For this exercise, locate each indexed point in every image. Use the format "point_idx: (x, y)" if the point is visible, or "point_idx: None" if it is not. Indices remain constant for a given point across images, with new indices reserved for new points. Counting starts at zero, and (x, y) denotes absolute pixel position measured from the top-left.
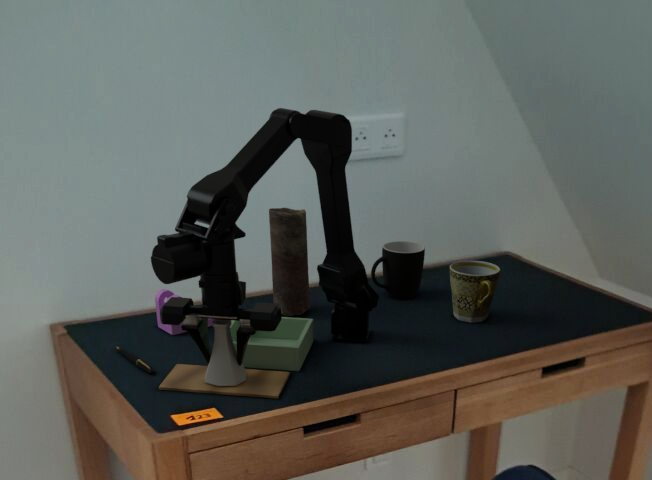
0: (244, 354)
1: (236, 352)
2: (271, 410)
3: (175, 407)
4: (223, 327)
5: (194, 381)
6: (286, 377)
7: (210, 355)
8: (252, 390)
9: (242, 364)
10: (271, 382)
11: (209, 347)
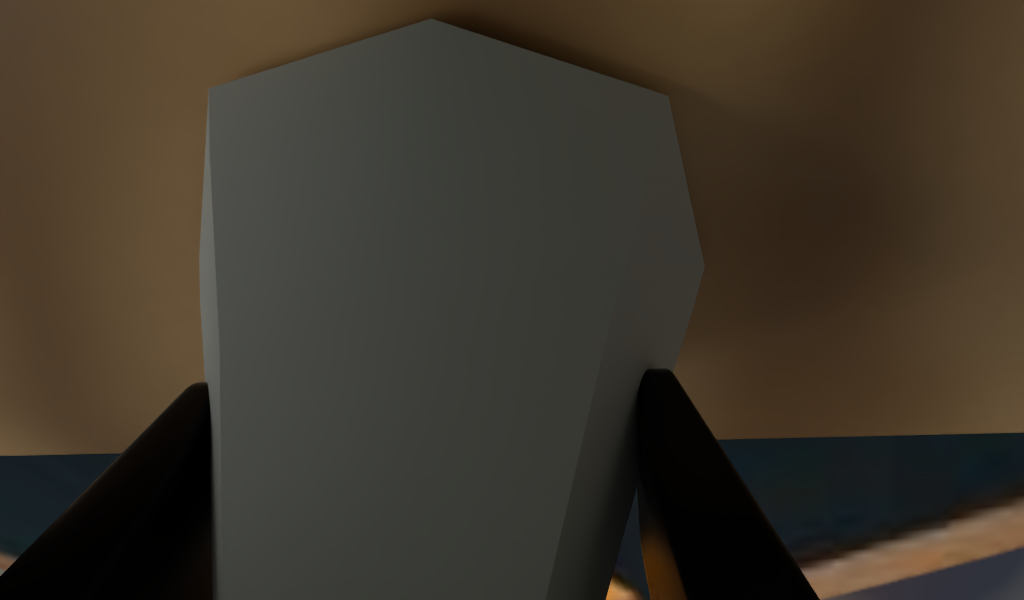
0: (737, 478)
1: (598, 500)
2: (944, 525)
3: None
4: None
5: (182, 346)
6: None
7: (206, 485)
8: (792, 393)
9: (639, 225)
10: (1016, 227)
11: (137, 580)
